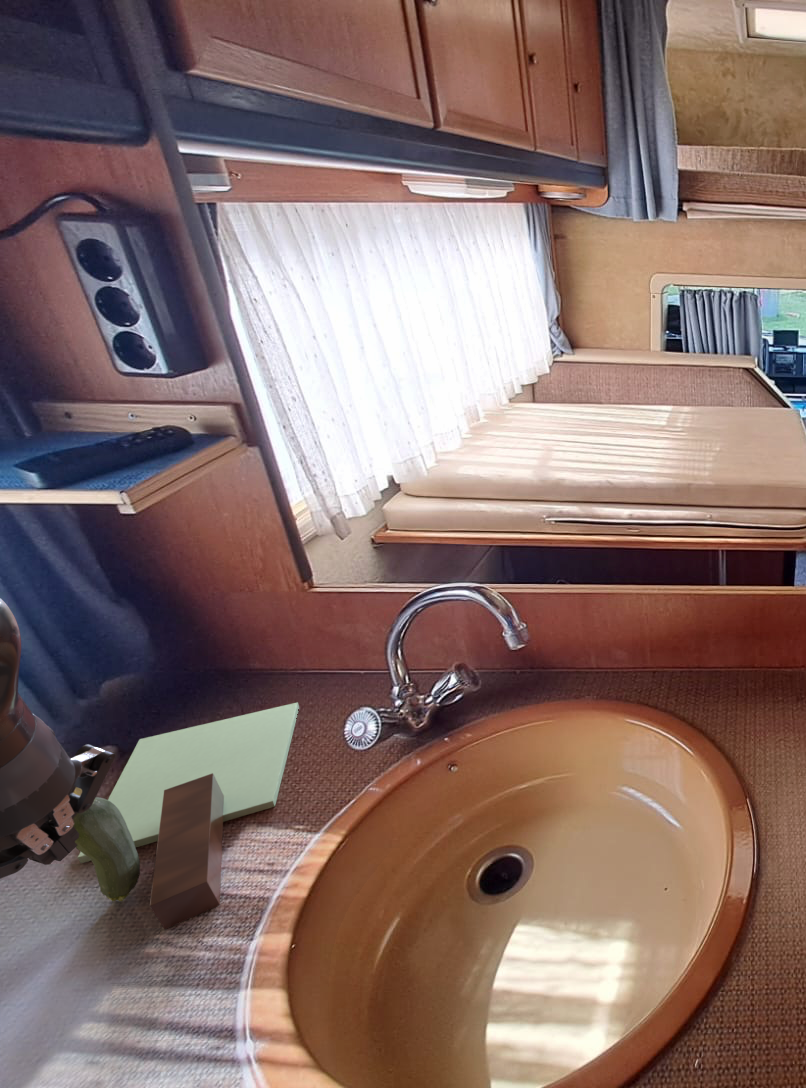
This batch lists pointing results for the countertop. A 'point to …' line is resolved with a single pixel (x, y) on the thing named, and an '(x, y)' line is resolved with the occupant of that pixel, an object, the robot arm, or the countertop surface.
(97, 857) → the vegetable
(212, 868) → the walnut block
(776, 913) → the countertop surface
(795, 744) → the countertop surface
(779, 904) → the countertop surface
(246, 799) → the cutting board
